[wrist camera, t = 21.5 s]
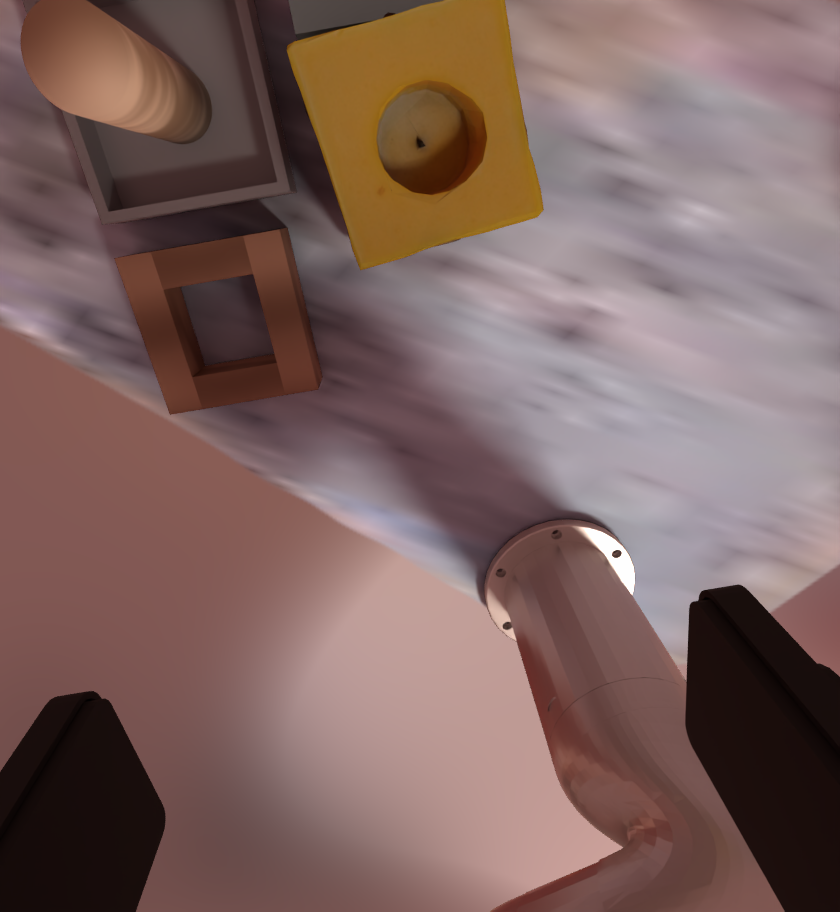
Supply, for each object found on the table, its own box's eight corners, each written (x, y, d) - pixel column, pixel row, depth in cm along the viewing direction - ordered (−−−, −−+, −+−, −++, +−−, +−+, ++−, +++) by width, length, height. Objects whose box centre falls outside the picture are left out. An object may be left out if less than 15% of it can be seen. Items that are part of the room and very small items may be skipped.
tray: (297, 192, 36) (290, 191, 34) (122, 223, 36) (102, 224, 34) (247, -29, 32) (235, -50, 29) (47, 7, 32) (18, -10, 29)
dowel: (220, 138, 34) (143, 107, 23) (154, 149, 34) (46, 124, 23) (200, 58, 33) (106, -15, 22) (130, 70, 33) (2, 4, 22)
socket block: (322, 377, 41) (318, 389, 38) (184, 400, 41) (170, 414, 39) (287, 227, 37) (279, 229, 34) (134, 254, 37) (114, 258, 34)
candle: (304, 83, 34) (275, 39, 25) (470, 28, 34) (502, -37, 24) (359, 258, 38) (351, 275, 29) (508, 212, 38) (547, 215, 28)
